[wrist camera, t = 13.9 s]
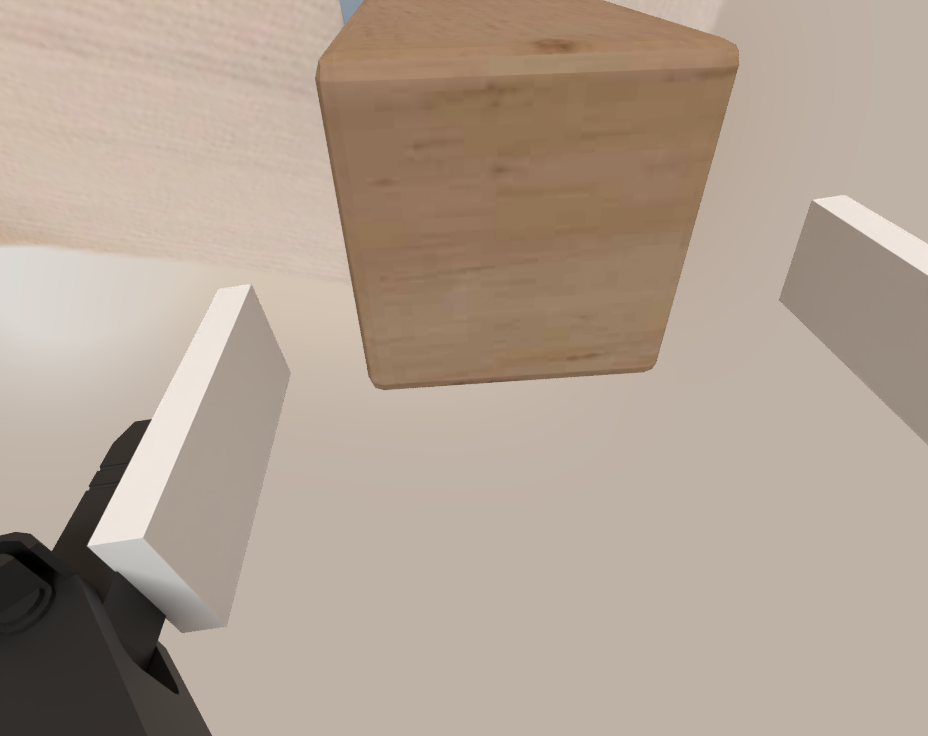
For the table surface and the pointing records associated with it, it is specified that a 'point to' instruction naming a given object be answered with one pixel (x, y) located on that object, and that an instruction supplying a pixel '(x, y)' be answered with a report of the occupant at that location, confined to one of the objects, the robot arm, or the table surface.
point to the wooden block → (517, 182)
